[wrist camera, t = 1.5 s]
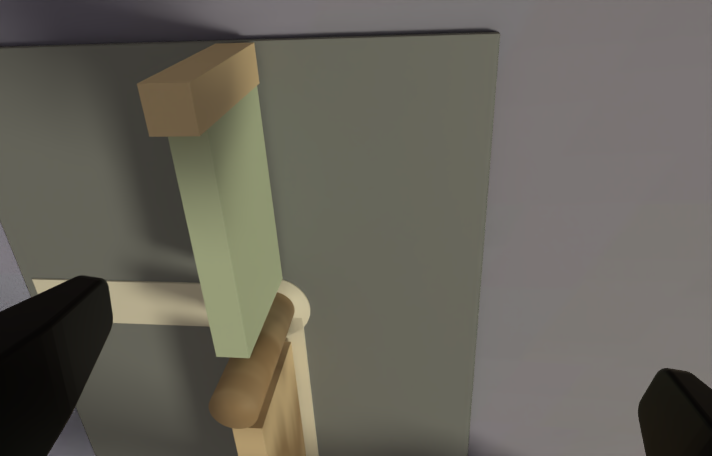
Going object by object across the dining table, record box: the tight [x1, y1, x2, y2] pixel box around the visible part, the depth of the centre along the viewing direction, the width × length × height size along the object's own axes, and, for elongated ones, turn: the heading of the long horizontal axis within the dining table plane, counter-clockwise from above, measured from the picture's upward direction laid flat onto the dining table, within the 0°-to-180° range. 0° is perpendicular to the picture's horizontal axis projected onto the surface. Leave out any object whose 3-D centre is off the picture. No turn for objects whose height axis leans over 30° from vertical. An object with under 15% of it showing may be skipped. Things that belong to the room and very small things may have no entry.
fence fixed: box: [209, 292, 306, 456], centre depth 24 cm, size 12×2×6 cm, turn 3°
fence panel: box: [137, 42, 283, 358], centre depth 18 cm, size 10×1×6 cm, turn 3°
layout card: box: [0, 32, 500, 456], centre depth 25 cm, size 23×21×1 cm
